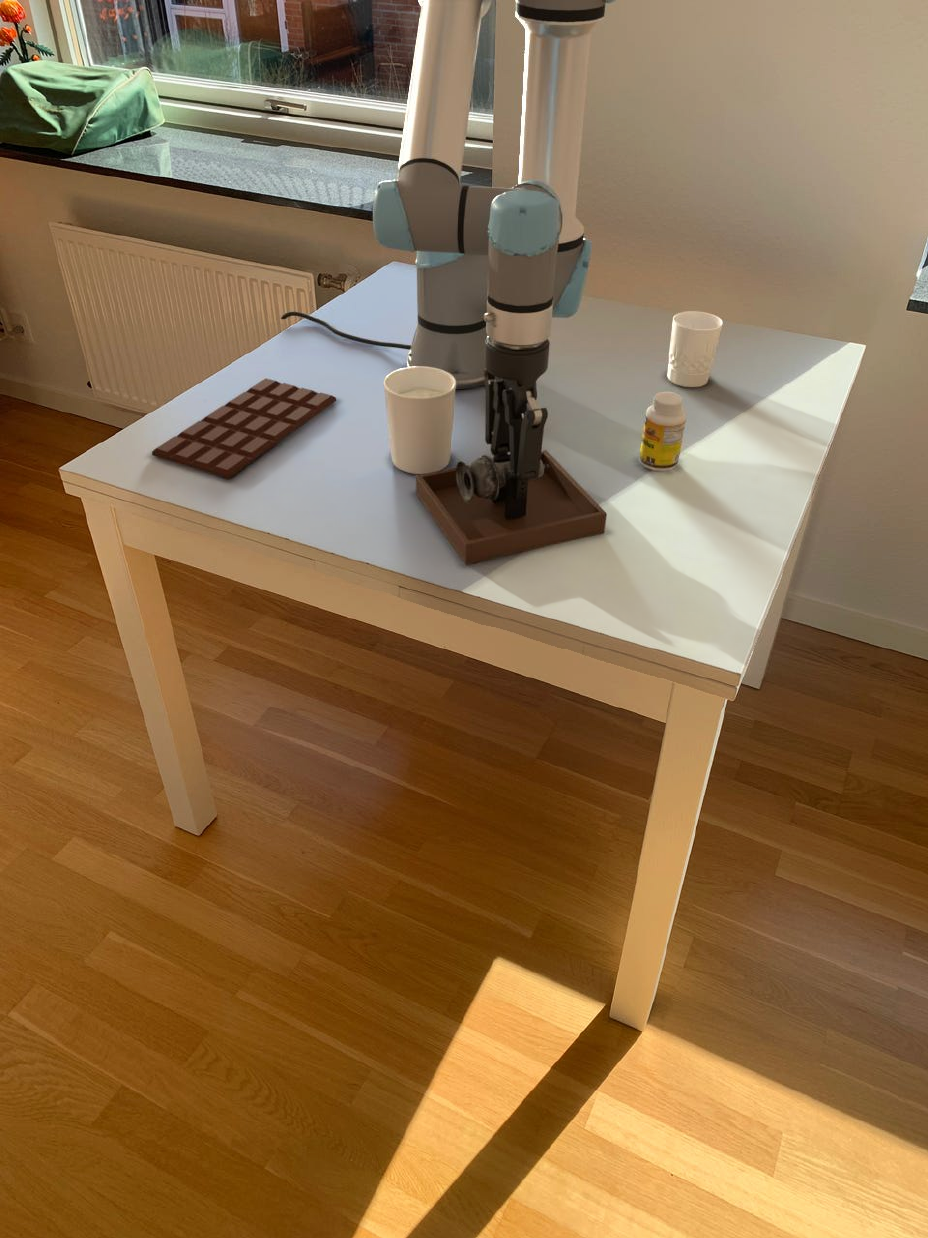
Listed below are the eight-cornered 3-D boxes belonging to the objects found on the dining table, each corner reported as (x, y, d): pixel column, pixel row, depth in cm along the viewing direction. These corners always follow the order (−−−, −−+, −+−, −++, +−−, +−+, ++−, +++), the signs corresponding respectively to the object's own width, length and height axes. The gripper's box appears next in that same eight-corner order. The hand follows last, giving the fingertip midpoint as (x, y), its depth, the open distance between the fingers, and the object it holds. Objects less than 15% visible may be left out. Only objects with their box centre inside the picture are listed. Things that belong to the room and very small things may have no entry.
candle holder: (404, 483, 132) (402, 403, 125) (375, 451, 139) (372, 374, 132) (467, 467, 136) (469, 389, 129) (436, 437, 143) (436, 361, 135)
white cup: (658, 369, 163) (667, 311, 156) (704, 368, 163) (715, 310, 157) (670, 389, 157) (680, 330, 150) (717, 388, 157) (729, 329, 151)
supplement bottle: (633, 455, 140) (642, 389, 133) (669, 452, 141) (680, 387, 134) (645, 474, 136) (656, 408, 129) (683, 471, 136) (695, 405, 130)
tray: (465, 564, 118) (465, 544, 116) (415, 494, 130) (415, 475, 129) (604, 532, 124) (607, 513, 122) (544, 468, 136) (546, 449, 135)
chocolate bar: (265, 382, 156) (265, 376, 155) (336, 400, 151) (335, 394, 151) (152, 455, 137) (150, 448, 136) (229, 478, 132) (228, 472, 132)
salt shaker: (451, 461, 124) (535, 445, 128) (460, 506, 125) (543, 489, 128) (466, 456, 118) (554, 440, 122) (476, 503, 119) (562, 486, 123)
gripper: (460, 315, 117) (457, 482, 132) (518, 370, 105) (508, 547, 120) (516, 307, 119) (507, 472, 134) (579, 360, 107) (562, 535, 122)
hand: (508, 507), depth 127 cm, fingers closed on salt shaker, 3 cm apart
